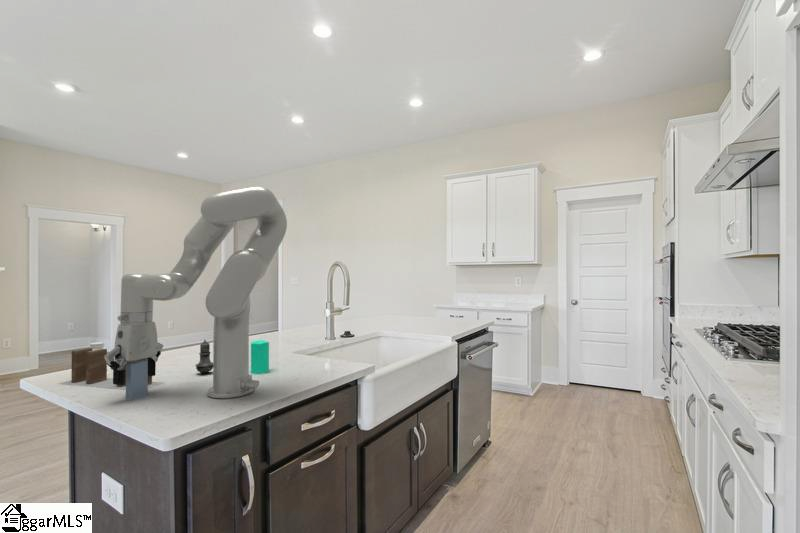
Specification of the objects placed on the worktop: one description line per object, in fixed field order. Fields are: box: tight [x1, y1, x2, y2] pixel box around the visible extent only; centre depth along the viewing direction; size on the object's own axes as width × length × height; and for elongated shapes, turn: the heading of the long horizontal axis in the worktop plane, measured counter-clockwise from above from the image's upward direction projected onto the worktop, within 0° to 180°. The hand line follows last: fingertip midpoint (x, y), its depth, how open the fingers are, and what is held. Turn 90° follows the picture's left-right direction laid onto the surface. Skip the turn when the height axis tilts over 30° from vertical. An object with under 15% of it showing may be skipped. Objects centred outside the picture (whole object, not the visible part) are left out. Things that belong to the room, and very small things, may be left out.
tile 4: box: [86, 348, 108, 384], centre depth 127 cm, size 2×5×10 cm, turn 165°
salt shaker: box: [195, 339, 213, 377], centre depth 136 cm, size 6×6×12 cm
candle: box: [250, 339, 270, 375], centre depth 140 cm, size 6×6×12 cm
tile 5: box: [70, 347, 93, 383], centre depth 128 cm, size 2×5×10 cm, turn 166°
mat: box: [57, 377, 164, 391], centre depth 125 cm, size 32×9×1 cm, turn 75°
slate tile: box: [125, 360, 149, 401], centre depth 111 cm, size 2×5×10 cm, turn 165°
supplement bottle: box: [89, 341, 107, 350], centre depth 141 cm, size 6×6×10 cm
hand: (135, 379), depth 111 cm, fingers open, 9 cm apart
